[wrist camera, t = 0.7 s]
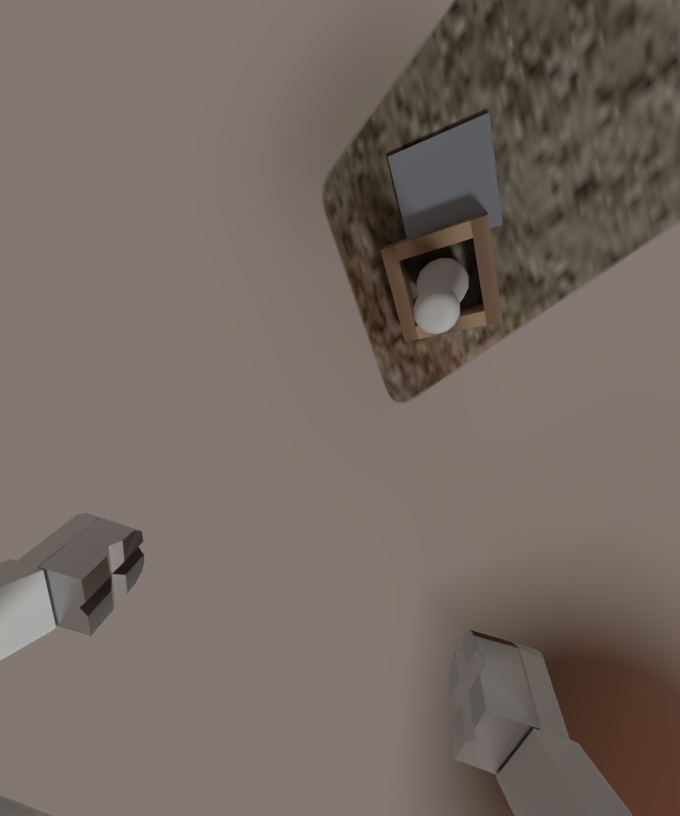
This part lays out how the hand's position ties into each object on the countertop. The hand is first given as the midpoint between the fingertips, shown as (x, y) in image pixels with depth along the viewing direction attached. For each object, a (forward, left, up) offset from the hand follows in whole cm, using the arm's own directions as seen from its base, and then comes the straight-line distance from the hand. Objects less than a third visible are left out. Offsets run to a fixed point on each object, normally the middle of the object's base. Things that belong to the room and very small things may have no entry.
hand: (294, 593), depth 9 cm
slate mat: (-2, -6, -42) cm, 43 cm away
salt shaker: (0, +3, -42) cm, 43 cm away
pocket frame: (0, +3, -42) cm, 42 cm away
